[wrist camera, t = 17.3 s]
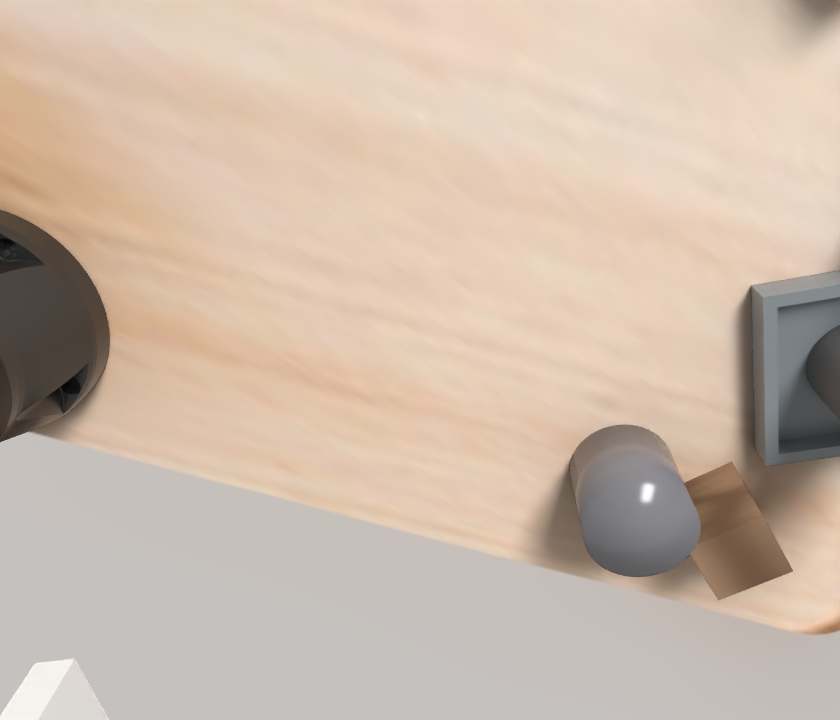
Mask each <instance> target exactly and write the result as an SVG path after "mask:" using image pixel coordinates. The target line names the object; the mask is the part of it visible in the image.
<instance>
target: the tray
mask: <svg viewBox="0 0 840 720" xmlns="http://www.w3.org/2000/svg"><path fill="white" fill-rule="evenodd" d="M751 294H752V338H753V381H754V425H755V450H756V452H757V453H758V455H759V456H760V458H761V460H762V461H763V463H764V464H765V466H771V465H779V464H786V463H793V462H801V461H808V460H815V459H823V458H830V457H837V456H840V420H839V419H838V417H837V416H836V415H835V414H834V413H833V412H832V411H831V410H830V408H829V407H828V406H827V405H826V404H825V403H824V402H823V401H822V399H821V398H820V397H819V396H818V395H817V393H816V392H815V391H814V390H813V389H812V387H811V385H810V383H809V381H808V378H807V372H806V370H807V361H808V358H809V355H810V353H811V351H812V349H813V348H814V346H815V345H816V343H817V342H818V341H819V340H820V339H821V338H822V337H823V336H824V335H825V334H826V333H828V332H829V331H831V330H832V329H834V328H835V327H837V326H839V325H840V271H834V272H828V273H822V274H817V275H811V276H805V277H799V278H793V279H787V280H781V281H776V282H770V283H764V284H758V285H752V286H751Z"/></svg>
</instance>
